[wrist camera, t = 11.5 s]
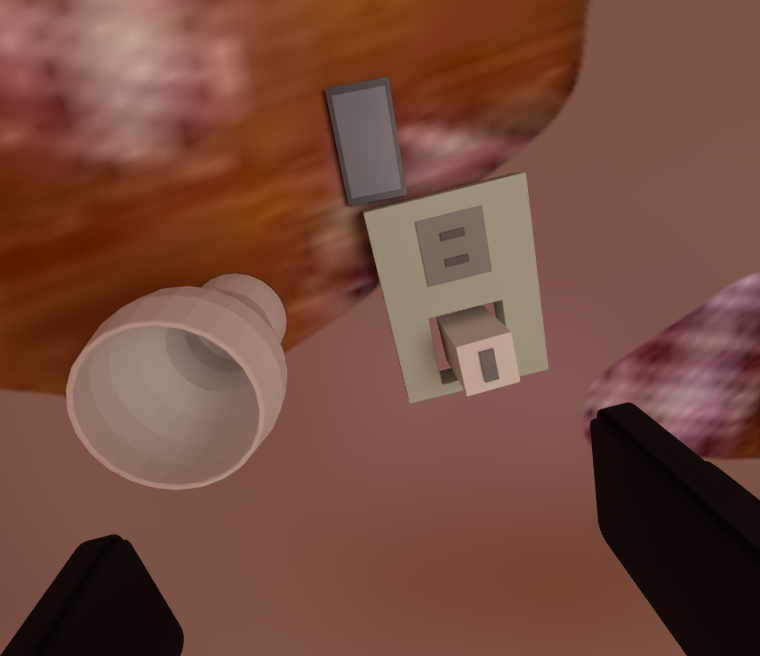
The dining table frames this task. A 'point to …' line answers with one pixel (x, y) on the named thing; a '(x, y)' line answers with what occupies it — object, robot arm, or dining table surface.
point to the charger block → (478, 349)
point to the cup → (182, 382)
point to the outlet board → (458, 272)
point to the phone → (366, 140)
